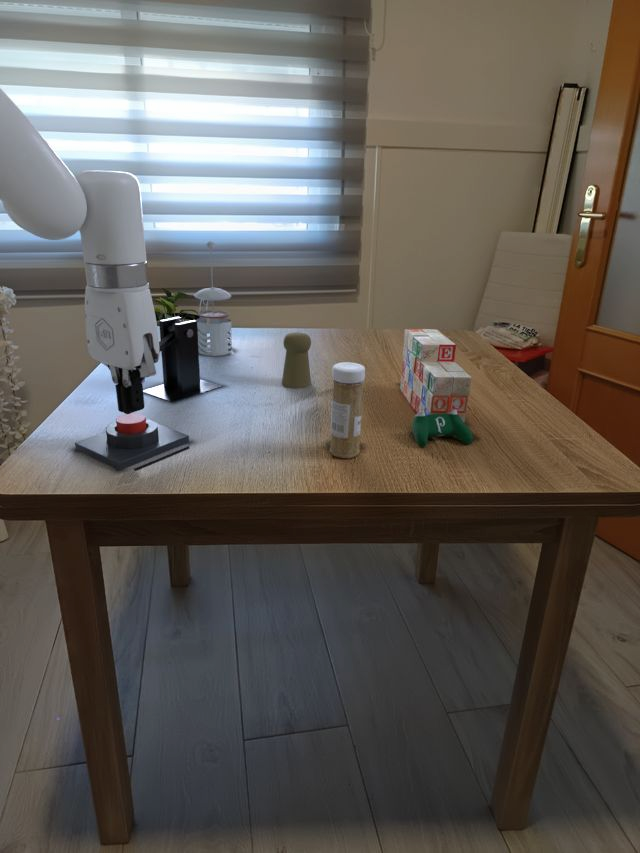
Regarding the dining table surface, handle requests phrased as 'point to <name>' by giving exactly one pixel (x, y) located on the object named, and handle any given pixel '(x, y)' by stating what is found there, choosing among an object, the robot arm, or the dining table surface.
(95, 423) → the dining table surface
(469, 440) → the gaming controller
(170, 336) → the switch lever
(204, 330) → the french press
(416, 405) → the stack of blocks
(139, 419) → the button
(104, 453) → the button block
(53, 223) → the robot arm
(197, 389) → the switch bracket
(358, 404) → the sprinkles bottle
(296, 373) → the cork
